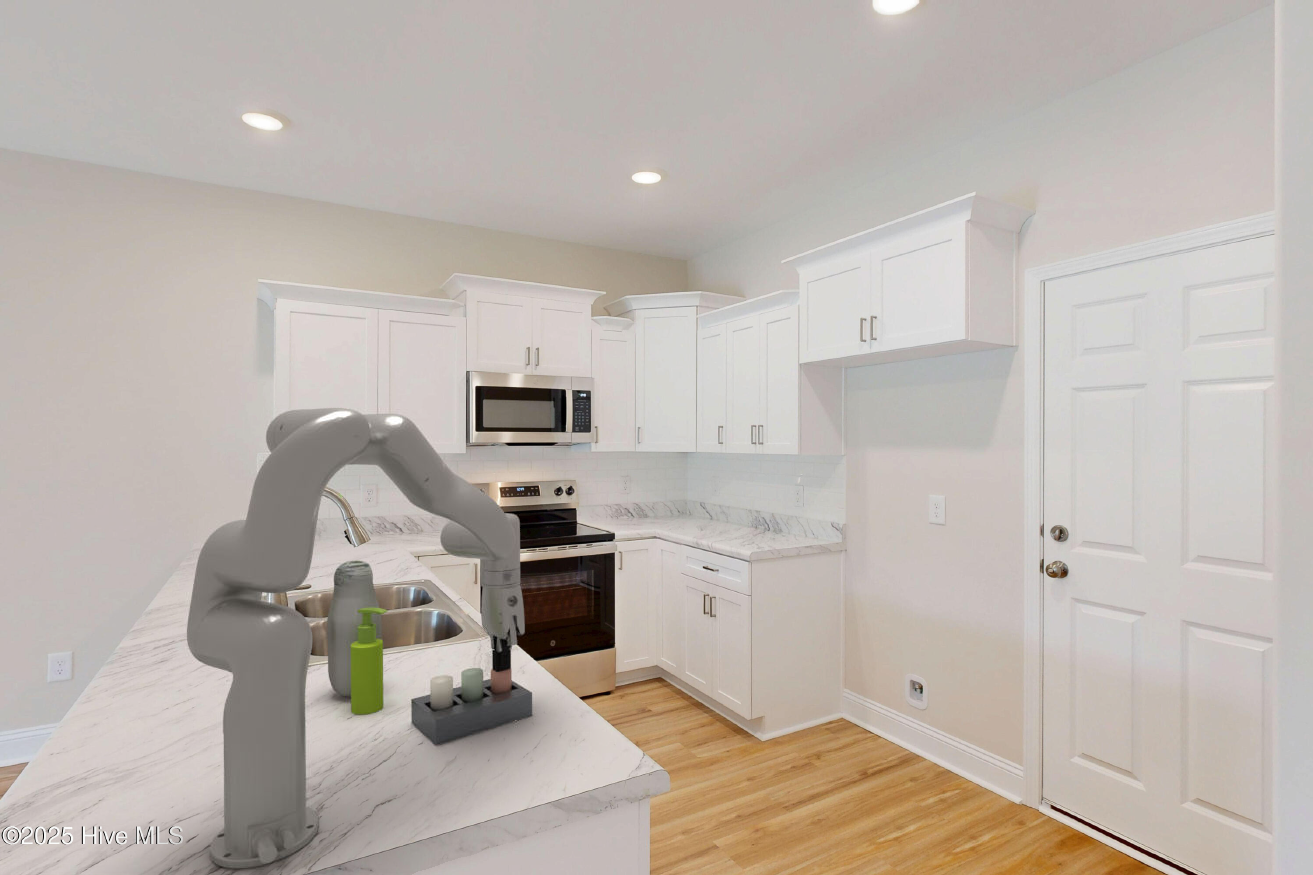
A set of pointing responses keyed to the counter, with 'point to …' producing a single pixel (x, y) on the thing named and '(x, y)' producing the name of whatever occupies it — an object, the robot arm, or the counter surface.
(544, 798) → the counter surface
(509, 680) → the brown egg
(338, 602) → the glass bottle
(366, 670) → the soap dispenser
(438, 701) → the cream rounded cylinder
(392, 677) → the counter surface
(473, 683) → the green piece
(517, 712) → the gray socket block
